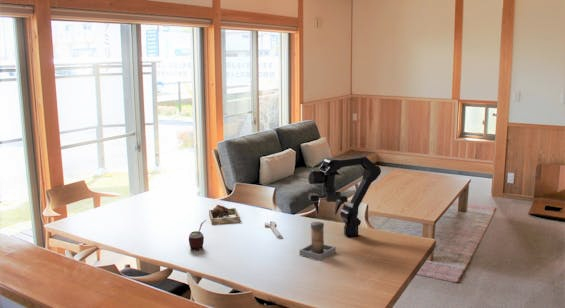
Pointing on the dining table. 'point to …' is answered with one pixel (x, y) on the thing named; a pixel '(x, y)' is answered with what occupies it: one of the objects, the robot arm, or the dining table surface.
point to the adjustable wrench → (273, 229)
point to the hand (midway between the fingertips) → (326, 214)
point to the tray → (308, 252)
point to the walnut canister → (317, 237)
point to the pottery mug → (221, 211)
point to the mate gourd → (196, 239)
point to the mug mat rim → (226, 219)
